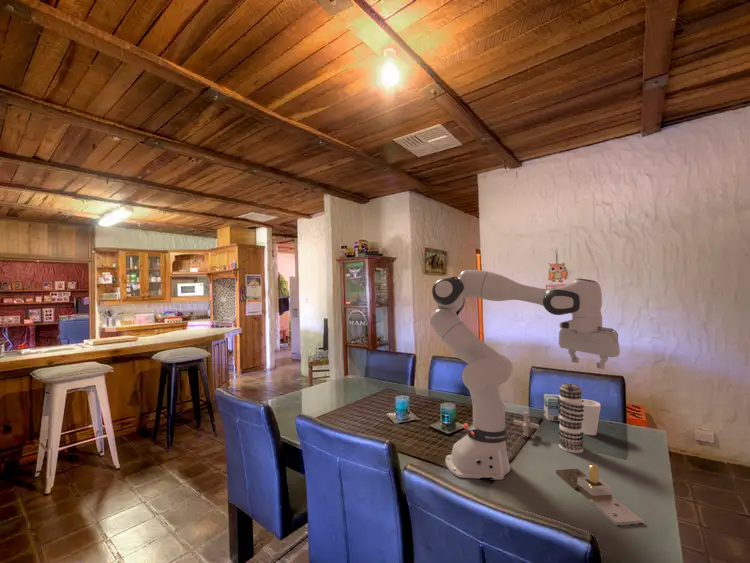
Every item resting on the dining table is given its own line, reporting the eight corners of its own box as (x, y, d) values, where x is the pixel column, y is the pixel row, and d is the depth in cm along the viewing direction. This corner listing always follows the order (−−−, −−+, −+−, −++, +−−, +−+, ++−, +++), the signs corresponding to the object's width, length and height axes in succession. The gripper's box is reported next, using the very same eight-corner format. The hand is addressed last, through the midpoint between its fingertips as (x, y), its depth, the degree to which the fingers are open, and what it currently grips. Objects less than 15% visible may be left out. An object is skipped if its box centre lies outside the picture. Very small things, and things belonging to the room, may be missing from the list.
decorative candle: (558, 440, 144) (557, 380, 144) (584, 445, 139) (583, 383, 139) (557, 449, 136) (556, 386, 136) (584, 455, 131) (584, 389, 132)
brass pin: (595, 498, 105) (595, 468, 105) (587, 494, 107) (587, 464, 107) (600, 496, 106) (600, 466, 106) (592, 492, 108) (592, 463, 108)
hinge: (643, 523, 94) (642, 509, 94) (615, 525, 93) (615, 510, 93) (577, 471, 120) (577, 460, 120) (555, 472, 119) (555, 461, 119)
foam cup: (577, 434, 150) (577, 404, 150) (574, 426, 158) (573, 398, 158) (603, 438, 146) (602, 407, 146) (598, 429, 154) (598, 400, 155)
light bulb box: (547, 420, 165) (547, 398, 165) (543, 415, 172) (543, 393, 172) (571, 422, 163) (571, 399, 163) (566, 416, 170) (566, 394, 170)
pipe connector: (540, 434, 150) (540, 411, 150) (537, 443, 142) (537, 418, 142) (516, 429, 155) (515, 406, 155) (511, 437, 147) (511, 413, 147)
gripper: (624, 328, 111) (624, 371, 111) (567, 322, 130) (568, 358, 130) (610, 329, 109) (611, 373, 109) (555, 322, 128) (555, 360, 128)
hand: (587, 365), depth 119 cm, fingers open, 8 cm apart
